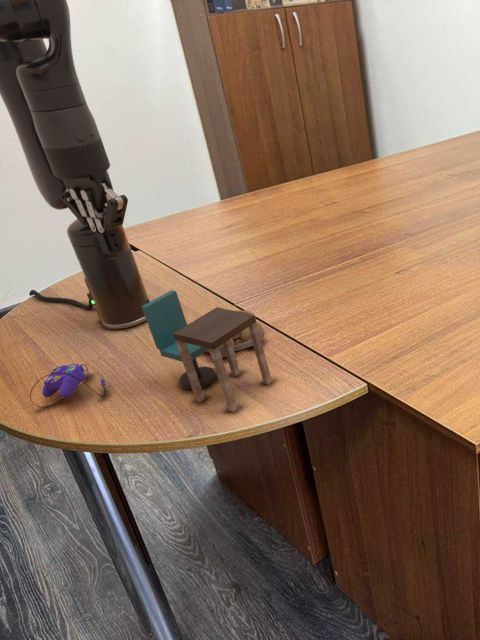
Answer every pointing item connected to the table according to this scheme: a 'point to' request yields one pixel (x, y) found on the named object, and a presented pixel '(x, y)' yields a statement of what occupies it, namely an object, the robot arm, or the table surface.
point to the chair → (163, 323)
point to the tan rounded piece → (242, 338)
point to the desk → (211, 335)
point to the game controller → (65, 381)
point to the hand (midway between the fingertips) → (113, 252)
